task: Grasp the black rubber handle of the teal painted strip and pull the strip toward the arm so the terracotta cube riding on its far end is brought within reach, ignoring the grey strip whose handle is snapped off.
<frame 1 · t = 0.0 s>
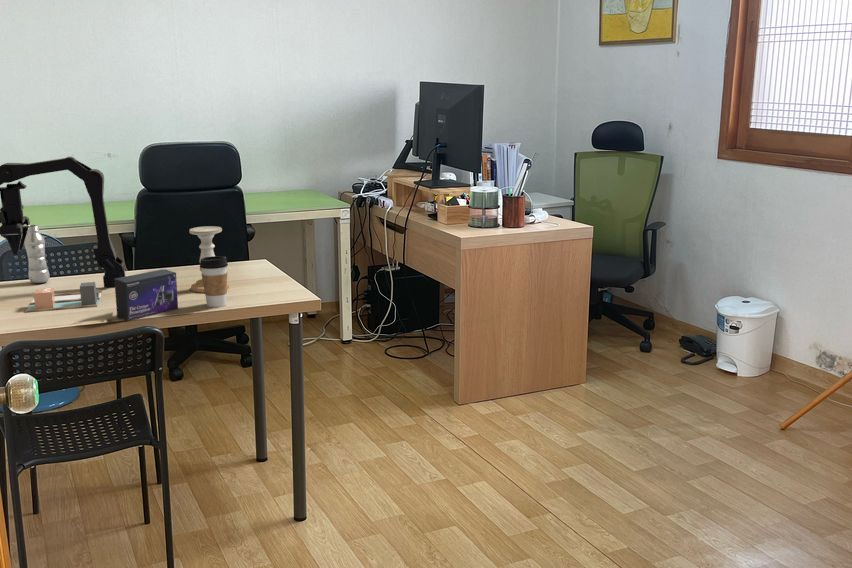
hand: (18, 251, 266), 15 cm above the table, fingers open, 9 cm apart
box: (148, 314, 248), on the table
candle holder: (210, 289, 277), on the table
plastic bottle: (40, 283, 287), on the table
cube: (45, 306, 252), point 1 cm above the table, touching strip b
strip a: (66, 297, 262), point 1 cm above the table, slide at 0.0 cm
coffee cup: (216, 305, 257), on the table
strip b: (62, 297, 253), point 4 cm above the table, slide at 0.0 cm, touching cube
lane rails: (65, 305, 258), on the table
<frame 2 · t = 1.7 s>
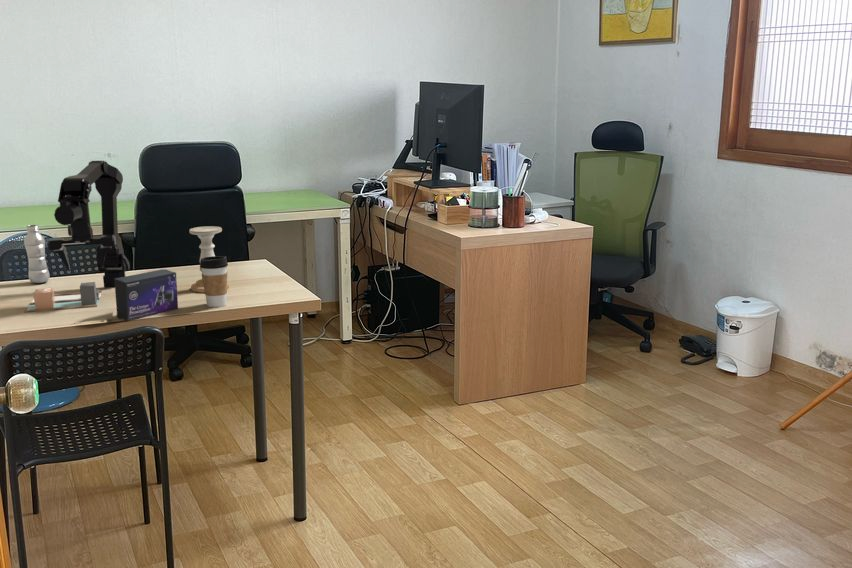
hand: (85, 270, 253), 12 cm above the table, fingers open, 9 cm apart
nothing on the table moved.
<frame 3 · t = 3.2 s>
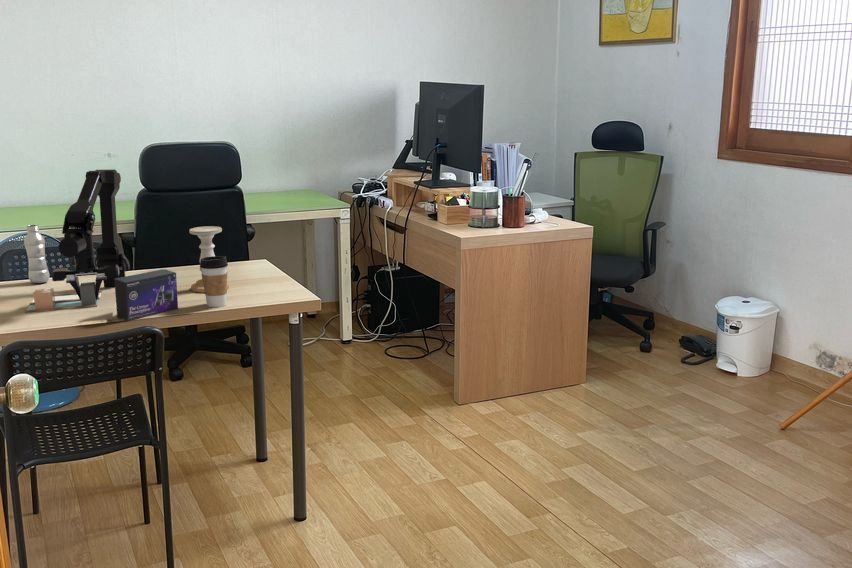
hand: (89, 299, 255), 2 cm above the table, fingers closed on strip b, 4 cm apart
strip b: (62, 297, 253), point 4 cm above the table, slide at 0.0 cm, touching cube, gripper
everything else where it was.
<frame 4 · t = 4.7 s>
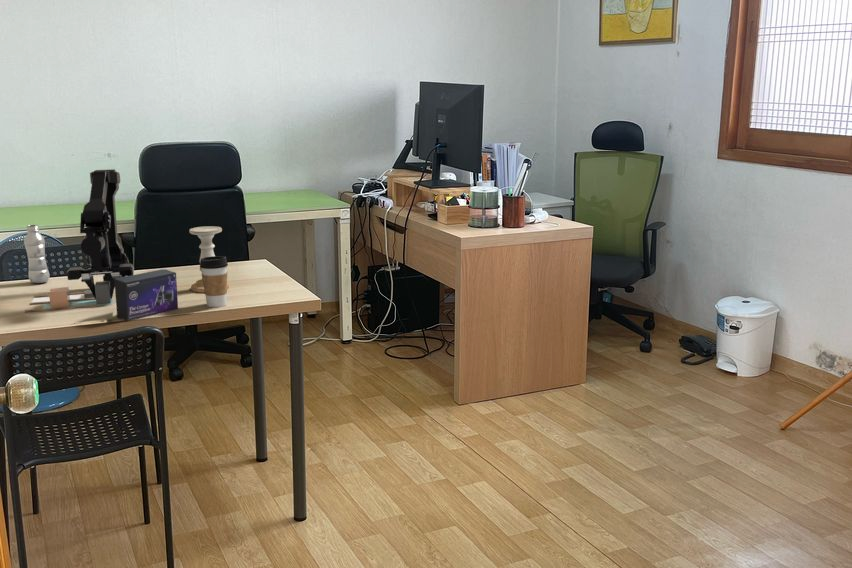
hand: (104, 298, 257), 2 cm above the table, fingers closed on strip b, 4 cm apart
cube: (60, 305, 253), point 1 cm above the table, touching strip b
strip b: (77, 296, 254), point 4 cm above the table, slide at 4.3 cm, touching cube, gripper
everything else where it was.
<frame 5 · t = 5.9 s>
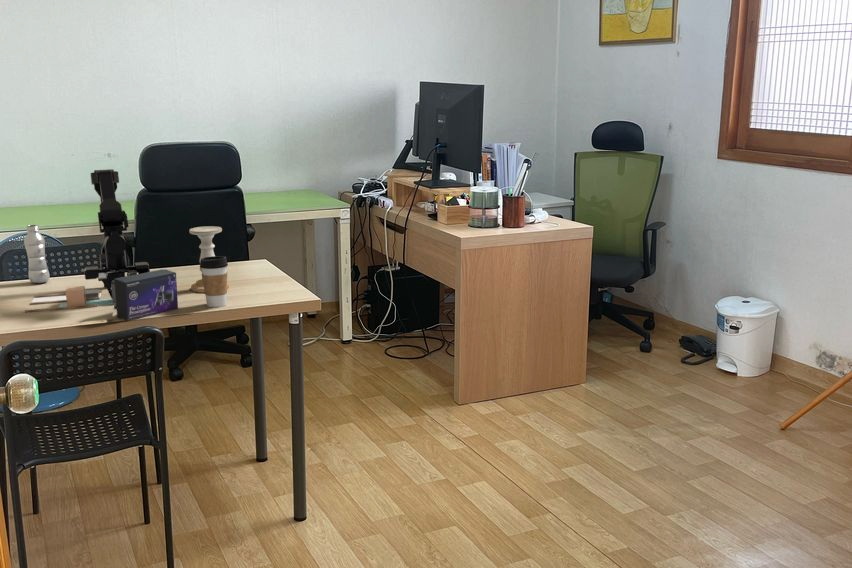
hand: (119, 297, 258), 2 cm above the table, fingers closed on strip b, 4 cm apart
cube: (77, 304, 255), point 1 cm above the table, touching strip b
strip b: (93, 294, 255), point 4 cm above the table, slide at 8.9 cm, touching cube, gripper
everything else where it was.
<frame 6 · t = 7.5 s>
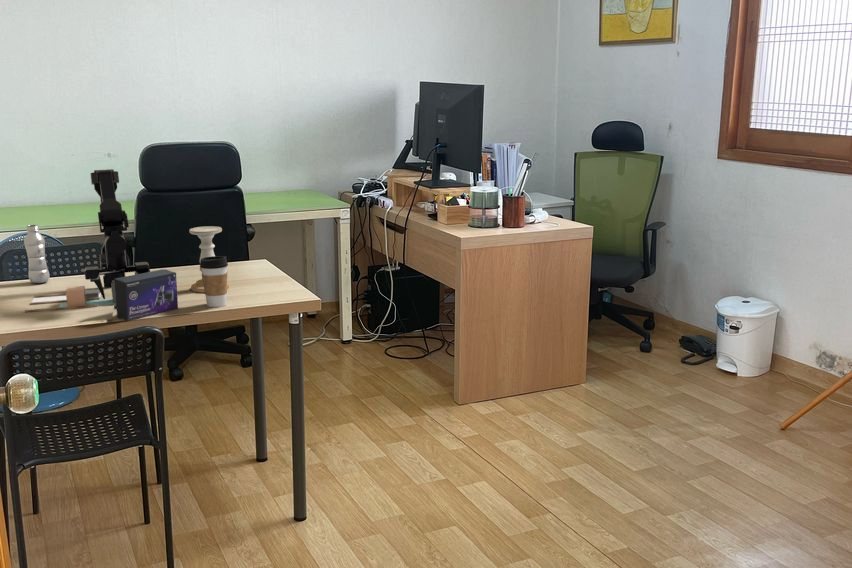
hand: (120, 297, 258), 2 cm above the table, fingers open, 9 cm apart
strip b: (93, 294, 255), point 4 cm above the table, slide at 8.9 cm, touching cube
everything else where it was.
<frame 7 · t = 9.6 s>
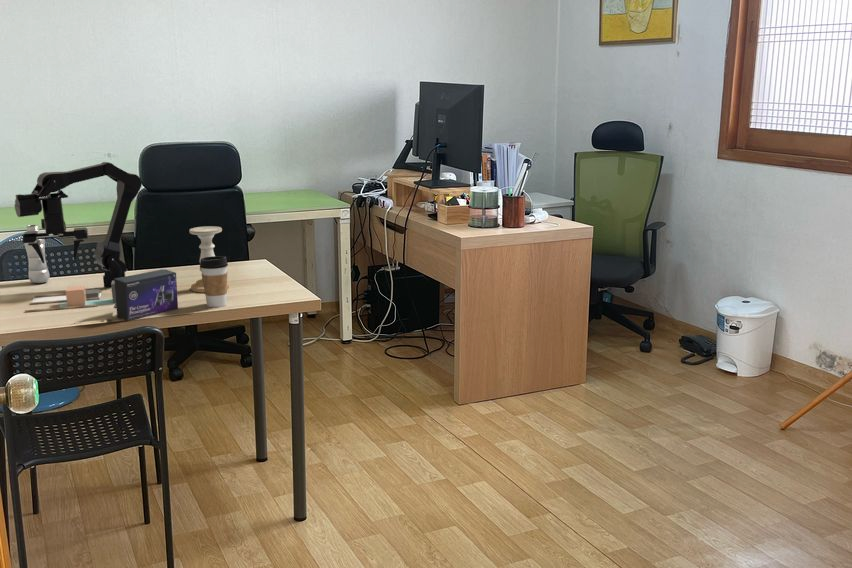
hand: (59, 261, 264), 12 cm above the table, fingers open, 9 cm apart
nothing on the table moved.
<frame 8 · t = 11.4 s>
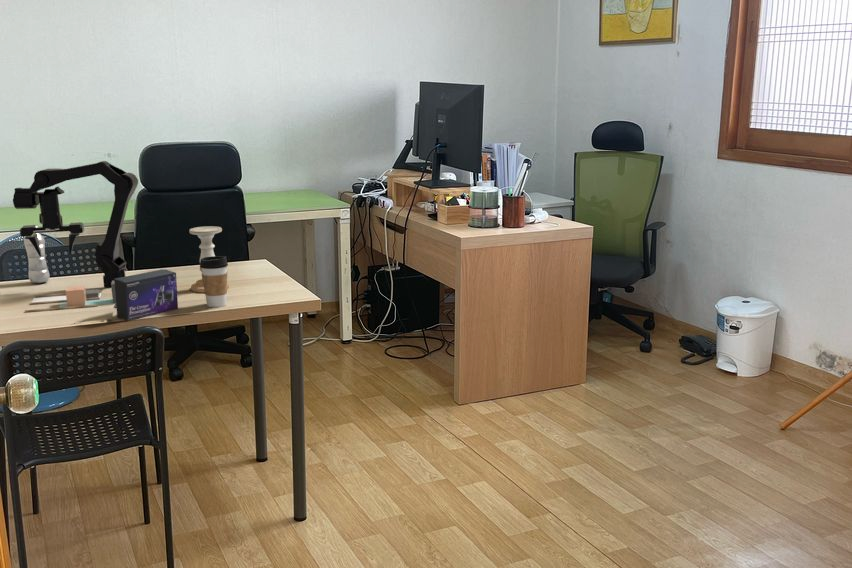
hand: (55, 255, 274), 12 cm above the table, fingers open, 9 cm apart
nothing on the table moved.
at the end: strip b slide at 8.9 cm; cube inside the target area (0.1 cm from its centre), point 1.2 cm above the table; cube tilted 0° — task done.
